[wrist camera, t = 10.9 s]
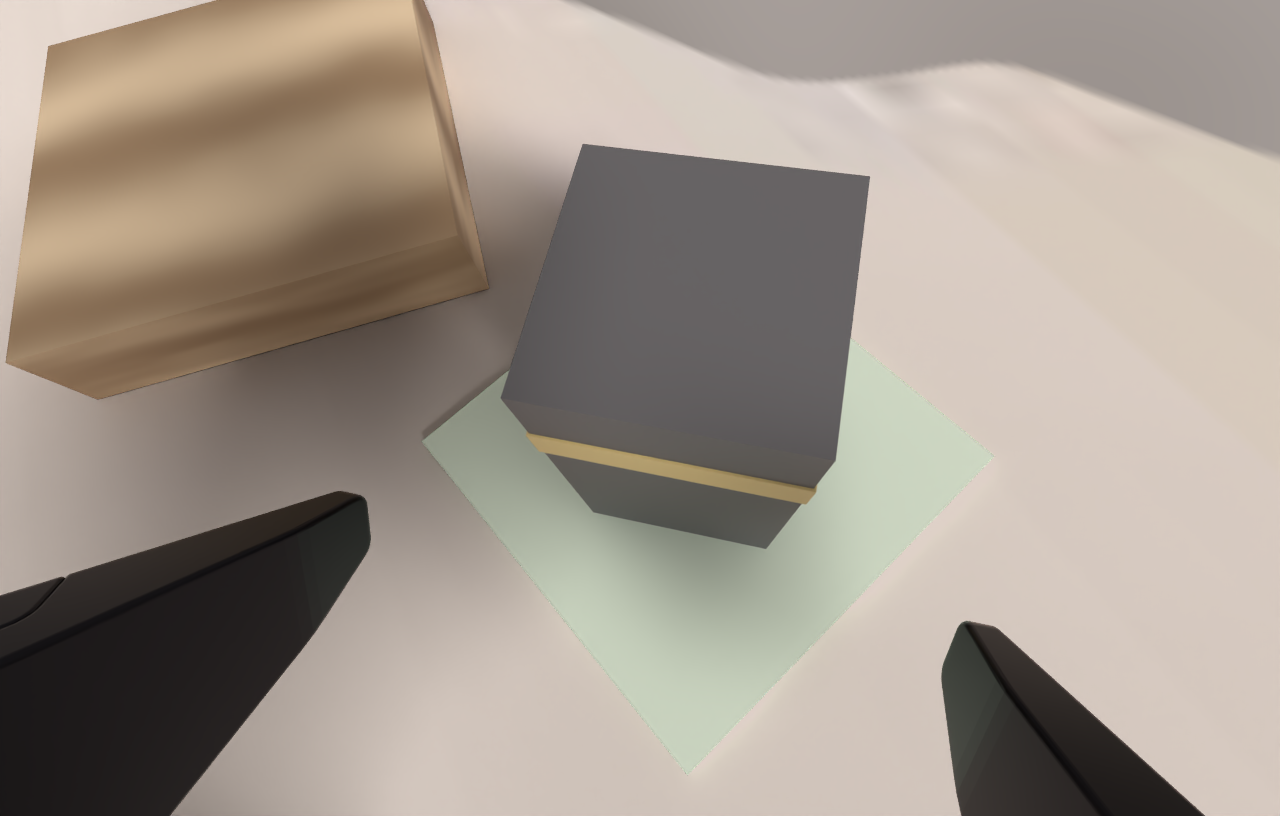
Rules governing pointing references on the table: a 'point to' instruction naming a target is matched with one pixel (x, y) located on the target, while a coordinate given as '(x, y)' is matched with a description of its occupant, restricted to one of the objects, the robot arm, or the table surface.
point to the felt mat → (713, 553)
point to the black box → (693, 338)
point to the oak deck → (237, 189)
